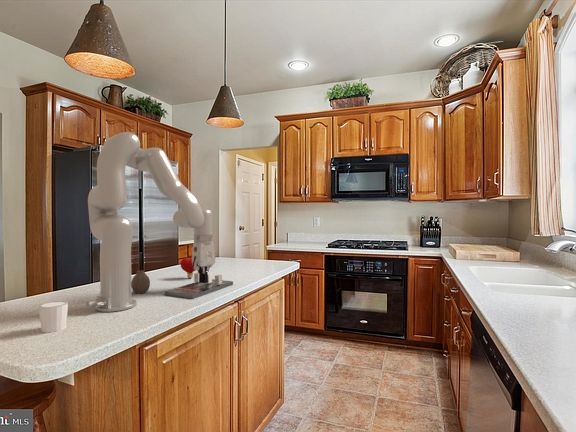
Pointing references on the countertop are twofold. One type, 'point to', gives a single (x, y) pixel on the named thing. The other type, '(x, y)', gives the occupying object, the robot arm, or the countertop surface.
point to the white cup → (53, 316)
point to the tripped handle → (209, 278)
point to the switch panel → (199, 287)
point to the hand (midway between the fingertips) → (203, 282)
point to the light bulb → (187, 267)
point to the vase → (140, 282)
